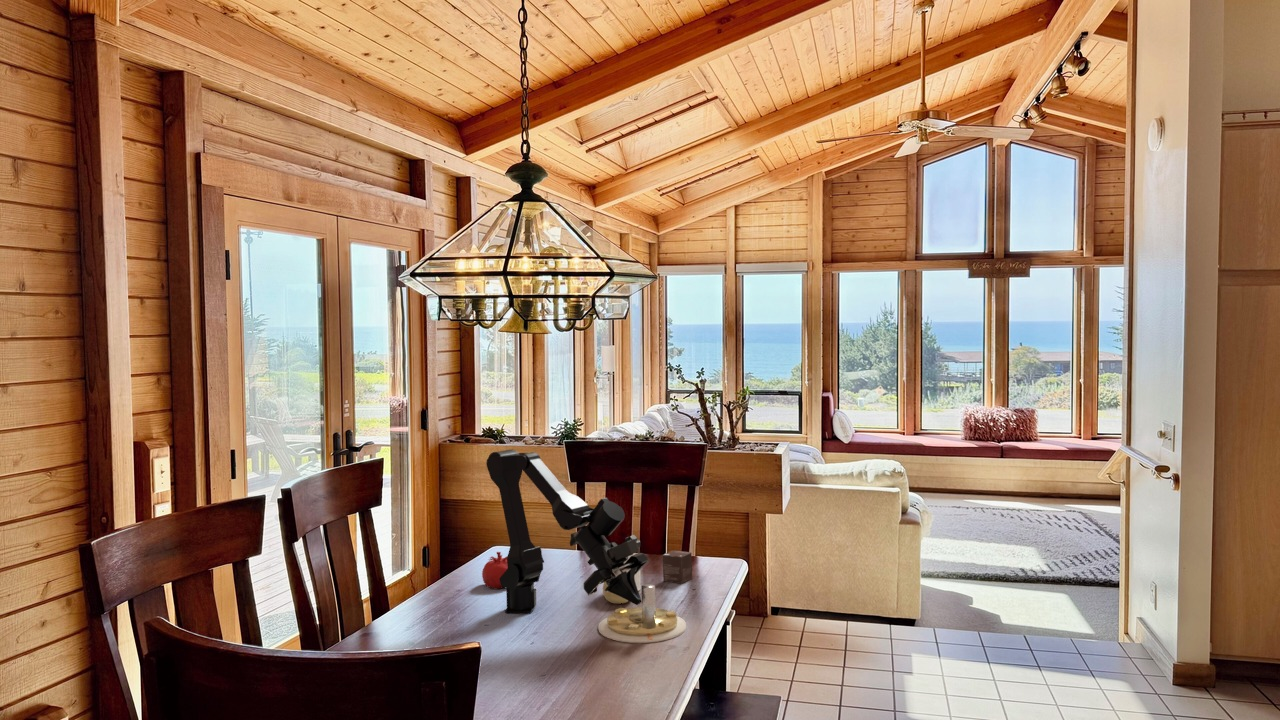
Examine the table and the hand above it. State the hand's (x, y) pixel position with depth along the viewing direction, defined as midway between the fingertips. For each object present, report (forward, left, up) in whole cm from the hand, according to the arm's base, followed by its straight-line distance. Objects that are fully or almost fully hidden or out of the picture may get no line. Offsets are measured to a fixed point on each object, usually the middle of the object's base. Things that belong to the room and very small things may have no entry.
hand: (639, 603), depth 188 cm
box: (+7, +45, -7) cm, 46 cm away
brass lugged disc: (0, +6, -7) cm, 9 cm away
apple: (-7, +25, -7) cm, 27 cm away
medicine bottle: (-7, +33, -7) cm, 34 cm away
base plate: (0, +6, -7) cm, 9 cm away
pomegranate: (-41, +40, -7) cm, 57 cm away
